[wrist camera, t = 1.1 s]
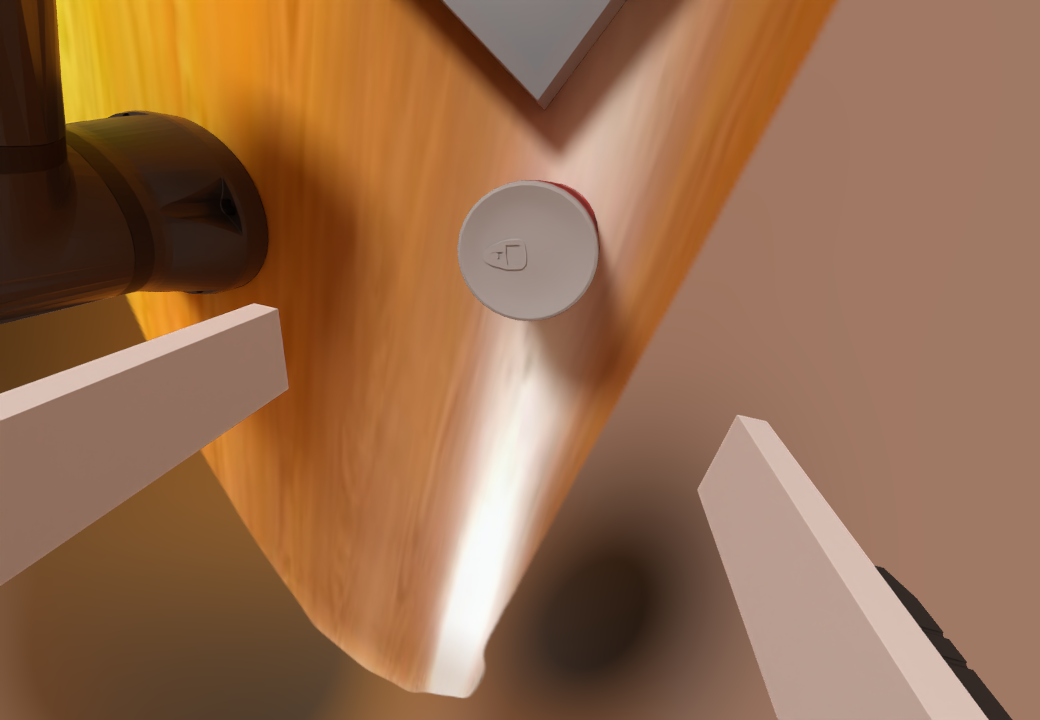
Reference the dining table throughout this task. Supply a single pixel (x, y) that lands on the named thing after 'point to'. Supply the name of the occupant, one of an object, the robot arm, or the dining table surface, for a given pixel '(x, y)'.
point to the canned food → (529, 249)
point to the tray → (536, 36)
